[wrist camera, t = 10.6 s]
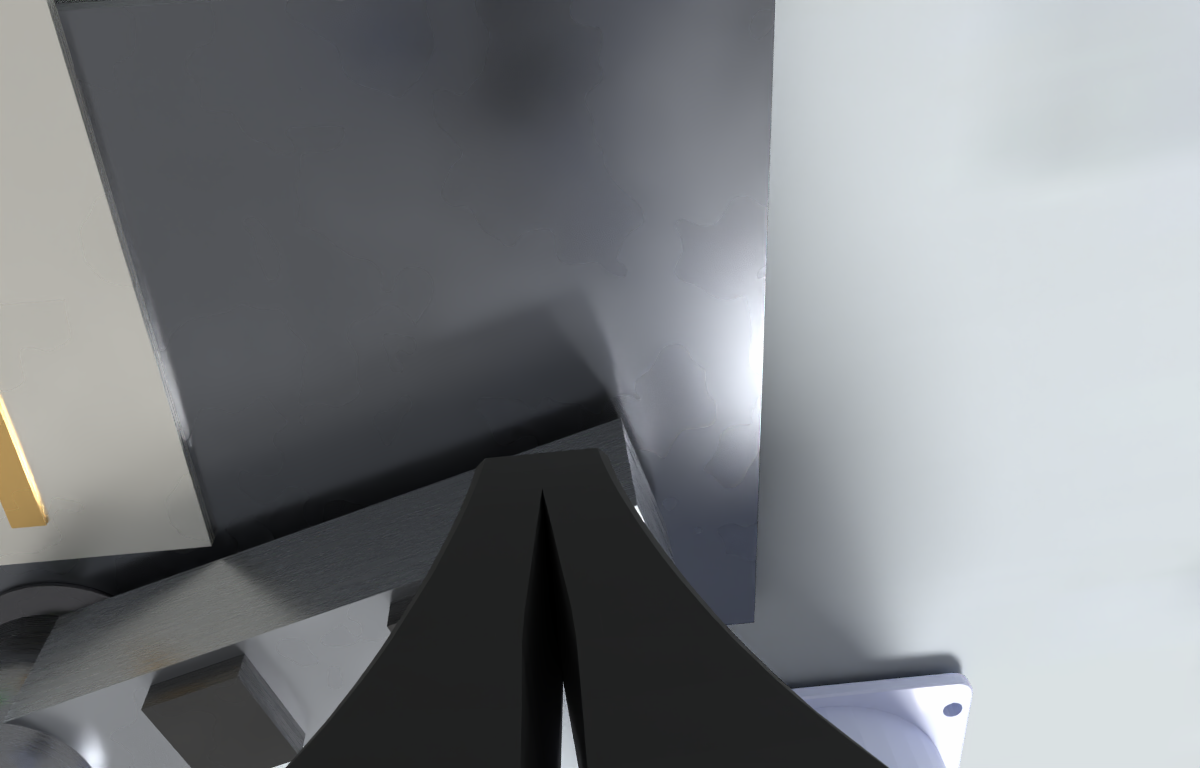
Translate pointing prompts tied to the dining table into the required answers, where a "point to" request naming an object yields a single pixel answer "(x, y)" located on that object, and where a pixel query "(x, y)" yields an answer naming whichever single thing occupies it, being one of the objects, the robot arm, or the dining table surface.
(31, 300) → the psu panel
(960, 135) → the dining table surface
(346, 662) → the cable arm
